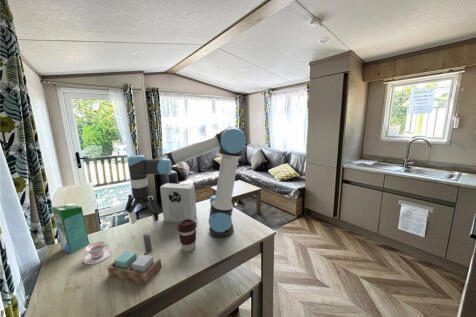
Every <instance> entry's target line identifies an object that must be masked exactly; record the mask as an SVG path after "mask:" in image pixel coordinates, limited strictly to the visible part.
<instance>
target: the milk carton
mask: <svg viewBox="0 0 476 317" xmlns="http://www.w3.org/2000/svg"><path fill="white" fill-rule="evenodd" d="M51 210H52V215H53V219H54V224H55V228H56V230H57V235H58V236H57V237H58V239H59V244H60V247H61V250H62V249H63V251H64V250H65V251H64V252H66V251H67V252H66V253H68V252H69V254H70V253H71V254H72V252H73V253H74V252H76V251H78V250H80V249H82V248H84V247H86V246H89V245H90V241H89V236H88V231H87V226H86V222H85V216H84V212H83V207H82V206H79V205H76V203H67V204H65V205H61V206H60V205H59V206H51ZM85 245H86V246H85Z"/></svg>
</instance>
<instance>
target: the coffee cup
mask: <svg viewBox="0 0 476 317" xmlns="http://www.w3.org/2000/svg"><path fill="white" fill-rule="evenodd" d="M178 223H179V224H177V231H178V235H179V242H180V244H181V245H180V246H181V249H182V251H184V252H191V251H193V250H194V249H195V248H196V245H197V244H196V242H197V241H196V240H197V224H198V223H197V222H196V220H195V221H193V220H191V219H186V220H183V221H181V222H178Z"/></svg>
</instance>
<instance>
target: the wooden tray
mask: <svg viewBox="0 0 476 317" xmlns="http://www.w3.org/2000/svg"><path fill="white" fill-rule="evenodd" d="M161 260H162V259H161V258H158V259H157V260H155V262H154V264H153V265H152V266H151V267H150V268H149V269H148V271H147V272H146V273H140V272H136V271H133V268H132V265H131V266H130V267H129V268H128V269H122V268H118V267H116V266H115V261H113V262H112V263H111V264H109V265H108V266H107V272H108V276H109V277H113V278H116V279H120V280H121V279H122V280H125V281H130V282H134V283H138V284H140V285H141V284H142V285H148V284H149V283H150V282H151V281H152V279H153V278H154V277H155V275H156V274H157V273H158V272H159V271H160V270H161V268H162V262H161Z"/></svg>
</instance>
